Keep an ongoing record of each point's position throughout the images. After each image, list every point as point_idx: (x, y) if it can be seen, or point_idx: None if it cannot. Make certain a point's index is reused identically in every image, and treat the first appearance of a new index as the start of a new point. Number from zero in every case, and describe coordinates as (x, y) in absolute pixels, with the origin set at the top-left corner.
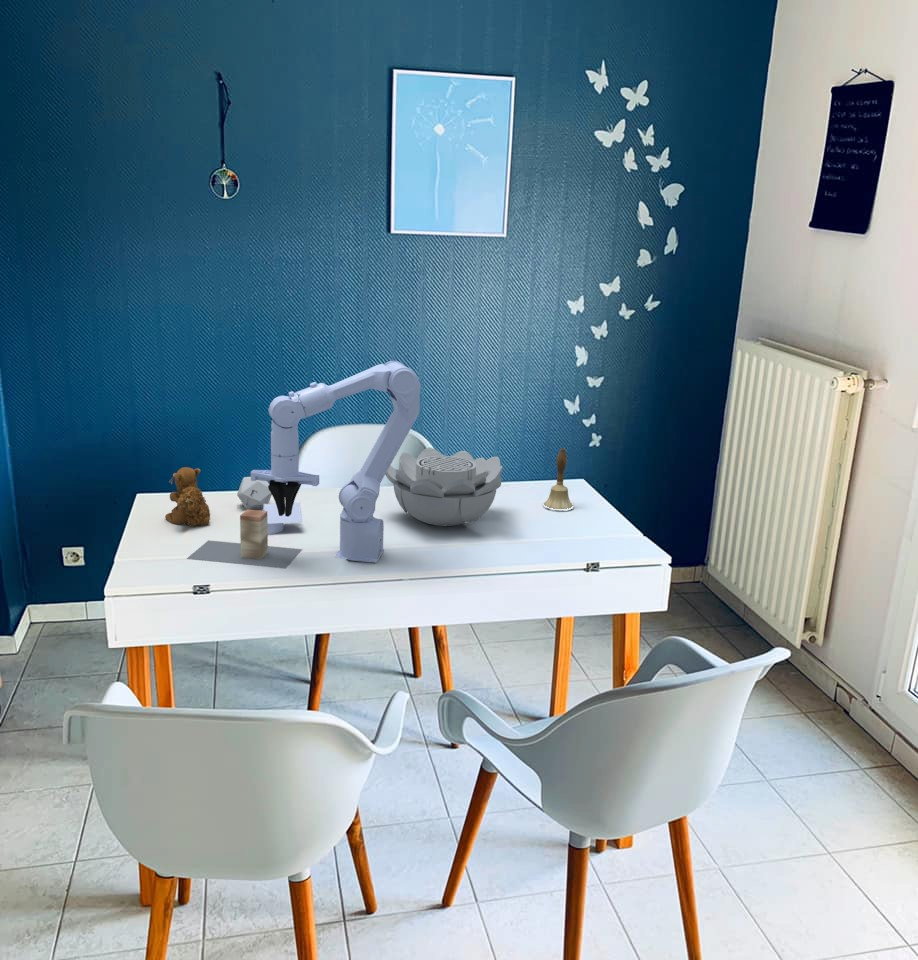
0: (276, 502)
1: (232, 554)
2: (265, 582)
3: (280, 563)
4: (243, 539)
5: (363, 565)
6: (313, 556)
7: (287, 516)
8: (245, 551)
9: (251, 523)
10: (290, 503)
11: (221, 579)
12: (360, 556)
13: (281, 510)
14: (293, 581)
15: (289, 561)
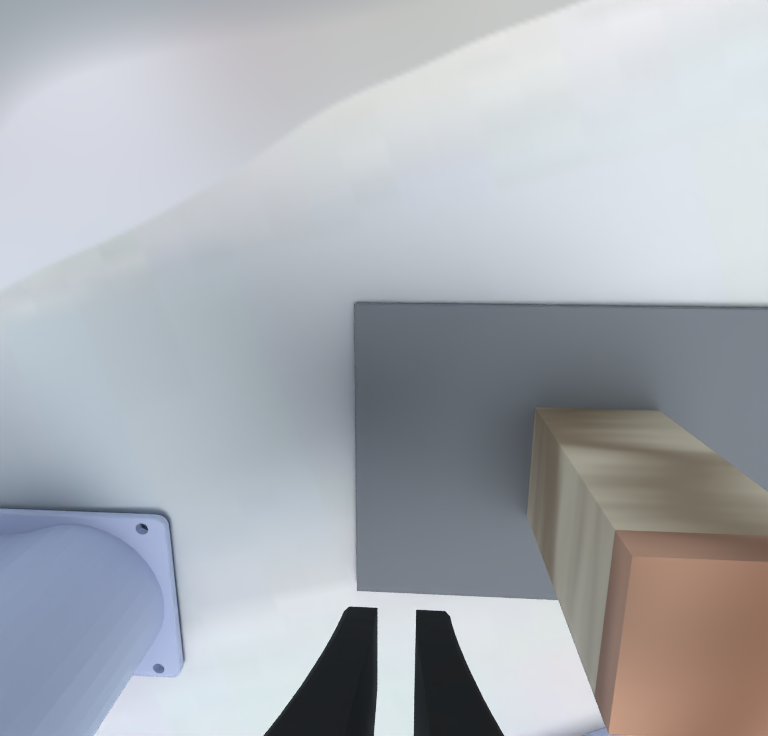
0: (480, 721)
1: (720, 442)
2: (413, 98)
3: (406, 369)
4: (696, 454)
5: (5, 471)
6: (284, 534)
7: (356, 607)
8: (645, 422)
9: (696, 521)
10: (279, 718)
11: (692, 72)
12: (25, 536)
13: (416, 648)
14: (262, 159)
15: (367, 410)
